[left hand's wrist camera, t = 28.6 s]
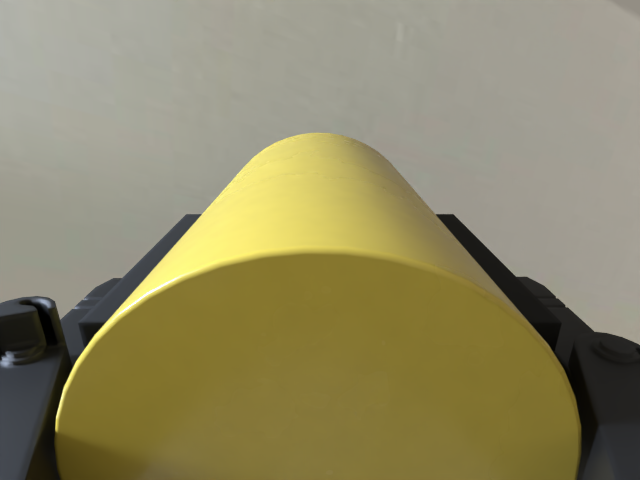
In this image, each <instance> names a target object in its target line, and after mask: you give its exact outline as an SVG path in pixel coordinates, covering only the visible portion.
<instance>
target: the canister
mask: <svg viewBox="0 0 640 480" xmlns="http://www.w3.org/2000/svg"><path fill="white" fill-rule="evenodd" d="M54 446H55V455H56V464H57V471H58V474H59V477H60V480H577V475H578V470H579V464H580V458H581V424H580V419H579V414H578V408H577V403H576V398H575V395H574V393H573V390H572V388H571V385H570V383H569V380H568V378H567V375H566V373H565V370H564V369H563V367H562V365H561V364H560V362H559V361H558V359H557V357H556V356H555V354H554V353H553V351H552V349H551V348H550V346H549V345H548V344H547V342H546V341H545V340H544V339H543V338H542V337H541V335H540V334H539V333H538V332H537V331H536V330H535V329H534V327H533V326H532V325H531V324H530V323H529V322H528V320H527V319H526V318H525V317H524V316H523V315H522V314H521V312H520V311H519V310H518V309H517V308H516V307H515V306H514V304H513V303H512V302H511V301H510V300H509V299H508V297H507V296H506V295H505V294H504V293H503V292H502V291H501V289H500V288H499V287H498V286H497V285H496V284H495V283H494V281H493V280H492V279H491V278H490V277H489V276H488V274H487V273H486V272H485V271H484V270H483V269H482V268H481V266H480V265H479V264H478V263H477V262H476V261H475V259H474V258H473V257H472V256H471V255H470V254H469V253H468V251H467V250H466V249H465V248H464V247H463V246H462V245H461V243H460V242H459V241H458V240H457V239H456V238H455V236H454V235H453V234H452V233H451V232H450V231H449V230H448V228H447V227H446V226H445V225H444V224H443V223H442V221H441V220H440V219H439V218H438V217H437V216H436V215H435V213H434V212H433V211H432V210H431V209H430V208H429V207H428V205H427V204H426V203H425V202H424V201H423V200H422V198H421V197H420V196H419V195H418V194H417V193H416V192H415V190H414V189H413V188H412V187H411V186H410V185H409V184H408V182H407V181H406V180H405V179H404V178H403V177H402V175H401V174H400V173H399V172H398V171H397V170H396V169H395V167H394V166H393V165H392V164H391V163H390V162H389V161H388V160H387V159H386V158H385V157H384V156H382V155H381V154H380V153H379V152H378V151H376V150H374V149H373V148H371V147H370V146H368V145H366V144H364V143H362V142H360V141H358V140H355V139H352V138H349V137H346V136H342V135H336V134H330V133H309V134H301V135H297V136H293V137H289V138H286V139H284V140H281V141H279V142H276V143H274V144H272V145H271V146H269V147H267V148H265V149H264V150H263V151H261V152H260V153H259V154H257V155H256V156H255V157H253V158H252V160H251V161H250V162H249V163H248V164H247V165H246V166H245V167H244V168H243V169H242V170H241V171H240V172H239V173H238V175H237V176H236V177H235V178H234V179H233V180H232V181H231V182H230V184H229V185H228V186H227V187H226V188H225V189H224V190H223V191H222V193H221V194H220V195H219V196H218V197H217V198H216V199H215V200H214V202H213V203H212V204H211V205H210V206H209V207H208V208H207V209H206V211H205V212H204V213H203V214H202V215H201V216H200V217H199V218H198V220H197V221H196V222H195V223H194V224H193V225H192V226H191V227H190V229H189V230H188V231H187V232H186V233H185V234H184V235H183V236H182V238H181V239H180V240H179V241H178V242H177V243H176V244H175V245H174V247H173V248H172V249H171V250H170V251H169V252H168V253H167V254H166V256H165V257H164V258H163V259H162V260H161V261H160V262H159V263H158V265H157V266H156V267H155V268H154V269H153V270H152V271H151V272H150V274H149V275H148V276H147V277H146V278H145V279H144V280H143V281H142V283H141V284H140V285H139V286H138V287H137V288H136V289H135V290H134V292H133V293H132V294H131V295H130V296H129V297H128V298H127V299H126V301H125V302H124V303H123V304H122V305H121V306H120V307H119V308H118V310H117V311H116V312H115V313H114V314H113V315H112V316H111V317H110V319H109V320H108V321H107V322H106V323H105V324H104V325H103V326H102V328H101V329H100V330H99V331H98V332H97V333H96V334H95V335H94V337H93V338H92V340H91V341H90V342H89V344H88V345H87V347H86V348H85V349H84V351H83V352H82V354H81V355H80V356H79V358H78V359H77V361H76V363H75V365H74V367H73V369H72V371H71V373H70V375H69V377H68V380H67V382H66V384H65V386H64V389H63V392H62V396H61V400H60V404H59V408H58V411H57V416H56V426H55V440H54Z"/></svg>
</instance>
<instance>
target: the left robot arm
mask: <svg viewBox="0 0 640 480" xmlns="http://www.w3.org/2000/svg"><path fill="white" fill-rule="evenodd" d="M201 215H202V214H186V215H185V216H184V217H183V218H182V219H181V220H180V221H179V222H178V223H177V224H176V225H175V226H174V227H173V228H172V229H171V230H170V231H169V232H168V233H167V234H166V235H165V236H164V237H163V238H162V239H161V240H160V241H159V242H158V243H157V244H156V245H155V246H154V247H153V248H152V249H151V250H150V251H149V252H148V253H147V254H146V255H145V256H144V257H143V258H142V259H141V260H140V261H139V262H138V263H137V264H136V265H135V266H134V267H133V268H132V269H131V270H130V271H129V272H128V273H127V274H126V275H125V276H124V277H123V278H113V279H111V280H109V281H107V282H105V283H103V284H101V285H99V286H97V287H96V288H95V289H94V290H92V291H91V292H90V293H89V294H88V295H87V296H86V297H85V298H84V300H82V301H80V302H79V303H78V304H77V305H76V306H75V309H72V310H71V311H70V312H69V313H67V314H66V315H65V316H64V317H63V318H62V319H61V320H60V318H59V315H58V311H57V307H56V304H55V301H53V300H52V299H50V298H47V297H39V296H34V297H22V298H18V299H14V300H9V301H5V302H2V303H0V480H60V477H59V474H58V471H57V464H56V455H55V446H54V440H55V426H56V416H57V411H58V408H59V404H60V400H61V396H62V392H63V389H64V386H65V384H66V382H67V380H68V377H69V375H70V373H71V371H72V369H73V367H74V365H75V363H76V361H77V359H78V358H79V356H80V355H81V354H82V352H83V351H84V349H85V348H86V347H87V345H88V344H89V342H90V341H91V340H92V338H93V337H94V335H95V334H96V333H97V332H98V331H99V330H100V329H101V328H102V326H103V325H104V324H105V323H106V322H107V321H108V320H109V319H110V317H111V316H112V315H113V314H114V313H115V312H116V311H117V310H118V308H119V307H120V306H121V305H122V304H123V303H124V302H125V301H126V299H127V298H128V297H129V296H130V295H131V294H132V293H133V292H134V290H135V289H136V288H137V287H138V286H139V285H140V284H141V283H142V281H143V280H144V279H145V278H146V277H147V276H148V275H149V274H150V272H151V271H152V270H153V269H154V268H155V267H156V266H157V265H158V263H159V262H160V261H161V260H162V259H163V258H164V257H165V256H166V254H167V253H168V252H169V251H170V250H171V249H172V248H173V247H174V245H175V244H176V243H177V242H178V241H179V240H180V239H181V238H182V236H183V235H184V234H185V233H186V232H187V231H188V230H189V229H190V227H191V226H192V225H193V224H194V223H195V222H196V221H197V220H198V218H199V217H200V216H201ZM435 215H436V216H437V217H438V218H439V219H440V220H441V221H442V223H443V224H444V225H445V226H446V227H447V228H448V230H449V231H450V232H451V233H452V234H453V235H454V236H455V238H456V239H457V240H458V241H459V242H460V243H461V245H462V246H463V247H464V248H465V249H466V250H467V251H468V253H469V254H470V255H471V256H472V257H473V258H474V259H475V261H476V262H477V263H478V264H479V265H480V266H481V268H482V269H483V270H484V271H485V272H486V273H487V274H488V276H489V277H490V278H491V279H492V280H493V281H494V283H495V284H496V285H497V286H498V287H499V288H500V289H501V291H502V292H503V293H504V294H505V295H506V296H507V297H508V299H509V300H510V301H511V302H512V303H513V304H514V306H515V307H516V308H517V309H518V310H519V311H520V312H521V314H522V315H523V316H524V317H525V318H526V319H527V320H528V322H529V323H530V324H531V325H532V326H533V327H534V329H535V330H536V331H537V332H538V333H539V334H540V335H541V337H542V338H543V339H544V340H545V341H546V342H547V344H548V345H549V346H550V348H551V349H552V351H553V353H554V354H555V356H556V357H557V359H558V361H559V362H560V364H561V365H562V367H563V369H564V370H565V373H566V375H567V378H568V380H569V383H570V385H571V388H572V390H573V393H574V395H575V398H576V403H577V408H578V414H579V419H580V424H581V458H580V464H579V470H578V475H577V480H640V345H639V344H637V343H634V342H632V341H630V340H627V339H625V338H623V337H619V336H616V335H612V334H608V333H600V332H594V331H593V330H592V329H591V328H590V327H589V326H588V325H586V324H585V323H584V322H583V321H582V320H581V319H580V318H579V317H578V316H577V315H575V314H574V313H573V312H572V311H571V310H570V309H569V308H566V307H565V304H563V303H562V302H561V301H560V300H559V299H556V296H555V295H554V294H552V293H551V292H550V291H549V290H548V289H547V288H546V287H545V286H543V285H541V284H539V283H538V282H536V281H534V280H532V279H530V278H528V277H516V276H515V275H514V274H513V273H512V272H511V271H510V270H509V269H508V268H507V267H506V266H505V265H504V264H503V263H502V262H501V261H500V260H499V259H498V258H497V257H496V256H495V255H494V254H493V253H492V252H491V251H490V250H489V249H488V248H487V247H486V246H485V245H484V244H483V243H482V242H481V241H480V240H479V239H478V238H477V237H475V236H474V235H473V234H472V233H471V232H470V231H469V230H468V229H467V228H466V227H465V226H464V225H463V224H462V223H461V222H460V221H459V220H458V219H457V218H456V217H455V216H454V215H453V214H435Z"/></svg>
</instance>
